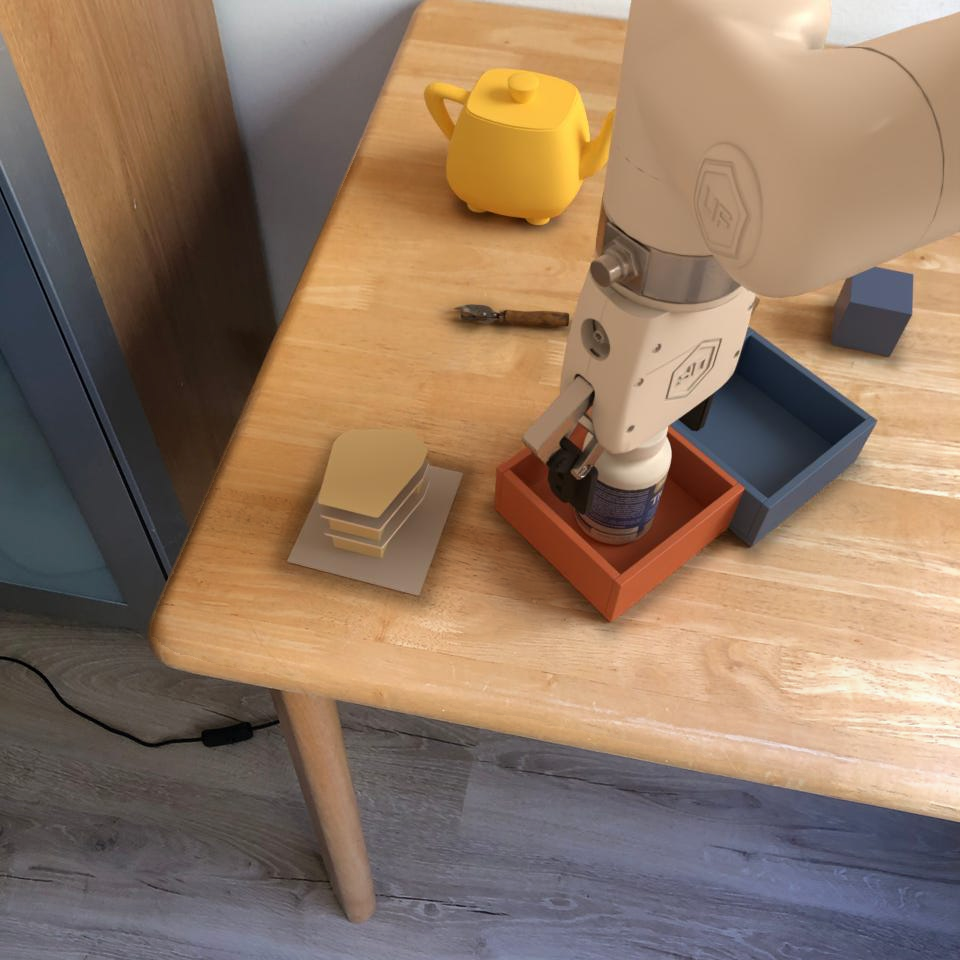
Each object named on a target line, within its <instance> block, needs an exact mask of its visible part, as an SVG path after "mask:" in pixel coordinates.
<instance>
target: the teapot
mask: <svg viewBox="0 0 960 960" xmlns="http://www.w3.org/2000/svg"><path fill="white" fill-rule="evenodd" d="M423 96H424V98H423V99H424V102H425V105H426V108H427V110H428V112H429V114H430V116H431V117H432V119H433V120H434V122H435V123H436V125H437V127H438V128H439V129H440V131H441V132H442V134H443V135H444V136H445V138H447V140H448V142H449V145H448V150H447V156H446V164H445V177H446V180H447V183H448V185H449V187H450V188H451V190H452V191H453V193H454V194H455V195H456V197H458V198H459V199H460V200H461V201H463V202H464V203H466V206H467V208H468V209H469V210H470V211H472V212H474V213H485V212H490V213H493V214H496V215H502V216H507V217H513V218H522V219H525V220H526V221H527V223H529V224H531V225H533V226H543V225H545V224H548V223H549V221H550V219H552V218H556V217H558V216H560V215H561V214H562V213H563V212H565V210H566V209H567V208H568V207H569V206H570V204H571V203H572V202H573V201H574V199H575V197H576V196H577V194H578V192H579V191H580V189H581V187H582V185H583V183H584V180H586V179H588V178H591V177H593V176H594V175H596V174H597V173H599V172H600V171H601V170H602V168H604V166H605V165H607V162H608V155H609V148H610V141H611V134H612V127H613V120H614V113H615V108H613V109H612V110H611V111H609V112H608V114H606V117H605V118H604V120H603V122H602V125H601V128H600V131H599V134H598V135H597V136H596V137H595V138H594V139H592V140H591V135H590V133H591V132H590V125H589V121H588V117H587V113H586V109H585V105H584V102H583V99H582V97H581V93H580V91H579V89H578V87H576V86H575V85H574V84H573V83H571V82H569V81H567V80H564V79H561V78H559V77H555V76H552V75H549V74H545V73H541V72H537V71H532V70H531V71H530V70H524V69H523V70H522V69H515V68H514V69H513V68H493V69H489V70H486V71H485V72H483V74H481V75H480V76H479V78H478V79H477V81H476V82H475V84H474V85H473V87H472V88H471V91H469V90H467V89H465V88H462V87H459V86H456V85H453V84H449V83H446V82H431V83H429V84H427V85H426V87H425V88H424V91H423ZM445 100H448V101H453V102H455V103H458V104H461V105H463V106H462V108H461V111H460V113H459V116H458V118H457V119H456V120H457V121H456V123H455V122H454V121H453V120H452V118H451V116H450V114H449V112H448V110H447V107H446V104H445Z"/></svg>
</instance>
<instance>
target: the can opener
mask: <svg viewBox="0 0 960 960" xmlns="http://www.w3.org/2000/svg"><path fill="white" fill-rule="evenodd" d="M453 310H460V319H461V320H462V321H465V322H466V321H471V320H475V319H485V320H477V323H479V324H481V325H490V324H492V323H494V321H495V320H498V322H500V323H504V324H514V325H515V324H517V325H519V324H521V325H523V324H524V325H530V326H531V325H532V326H539V327H551V328H552V327H553V328H559V327H560V328H562V327H569V325H570V313H569V312H562V311H554V310H552V311H551V310H527V311H526V310H514V309H505V310H499V312H496V311H495V310H493V308H492V307H490V306H488V305H486V304H485V305H484V304H476V303H475V304H472V303H471V304H470V303H469V304H463V305H460V306H457V307H455V308H453ZM463 313H467V314H470V315H463Z"/></svg>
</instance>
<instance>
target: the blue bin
mask: <svg viewBox="0 0 960 960" xmlns="http://www.w3.org/2000/svg"><path fill="white" fill-rule="evenodd" d="M877 423H878V419H877V418H875V417H874V416H872V415H871V414H870V413H868V412H867V411H866V410H864V409H863V408H862V407H860V406H858V405H857V404H856V403H855V402H853V401H852V400H850V399H849V398H848V397H846V396H845V395H844V394H842V393H841V392H840V391H838V390H837V389H835V388H834V387H833V386H831V385H830V384H829V383H827V382H826V381H825V380H823V379H822V378H821V377H819V376H817V375H816V374H815V373H814V372H812V371H811V370H809V369H808V368H807V367H805V366H804V365H802V364H801V363H800V362H799V361H797V360H796V359H794V358H793V357H791V356H790V355H789V354H787V353H786V352H785V351H783V350H782V349H781V348H779V347H778V346H776V345H775V344H774V343H772V342H771V341H770V340H768V339H767V338H766V337H764V336H762V335H761V334H760V333H758V332H757V331H755V330H754V329H753V328H752V327H750V326H748V328H747V332H746V336H745V339H744V343H743V346H742V350H741V353H740V356H739V359H738V362H737V365H736V368H735V370H734V372H733V374H732V376H731V377H730V378H729V379H728V381H727V382H726V383H725V384H724V385H723V386H722V387H720V388H719V389H718V390H717V391H716V392H715V395H714V398H713V401H712V404H711V407H710V410H709V413H708V416H707V419H706V422H705V425H704V427H703V428H701V429H700V430H699V431H692V430H690V429H689V428H688V427H687V426H685V425H684V424H683V423H682V422H680V421H679V420H678V419H677V420H676V421H675V422H673V423H672V424H670V425H669V426H672V428H674V429H675V430H676V431H678V432H679V433H680V434H681V436H684V437H685V438H686V439H687V440H688V441H689V442H690V443H692V445H694V446H696V447H697V448H698V450H701V451H702V453H703V454H705V455H706V456H708V458H709V459H711V460H712V461H713V462H714V463H715V464H718V465H719V467H721V468H722V469H723V470H724V471H725V472H727V474H730V476H732V478H735V480H736V481H737V483H740V484H741V485H742V486H743V487H745V489H744V492H743V494H742V496H741V499H740V501H739V504H738V506H737V508H736V511H735V513H734V515H733V518H732V520H731V523H730V525H729V527H728V529H729V531H731V532H732V534H734V535H735V536H737V537H738V538H739V539H740V540H741V541H743V543H745V545H747V546H748V547H749V548H753V547H754V546H756V545H757V544H758V543H760V541H761V540H763V539H764V538H765V537H766V536H768V534H770V533H771V532H773V530H774V529H776V528H777V527H778V526H779V525H780V524H782V523H783V522H784V521H786V519H788V518H789V517H791V516H792V515H793V514H794V513H795V512H796V511H798V510H799V509H800V508H801V507H802V506H803V505H805V504H806V503H807V502H808V501H810V500H811V499H812V498H813V497H815V495H817V494H818V493H819V492H820V491H821V490H823V489H824V488H825V487H826V486H828V485H829V484H830V483H832V481H834V480H835V479H836V478H837V477H839V476H840V475H841V474H842V473H843V472H844V471H846V470H847V469H848V468H850V467H851V466H852V465H853V464H854V463H855V462H856V461H857V460H858V457H859V455H860V454H861V452H862V451H863V449H864V446H865V445H866V443H867V441H868V439H869V438H870V436H871V434H872V433H873V431H874V429H875V428H876V425H877Z"/></svg>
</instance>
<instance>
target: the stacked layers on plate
mask: <svg viewBox="0 0 960 960" xmlns="http://www.w3.org/2000/svg"><path fill="white" fill-rule="evenodd" d="M428 452H429V448H428V446H427V445H426V444H425V442H423V440H422V439H421V438H420V437H419V435H418V434H417V433H416V431H414V430H411V429H384V428H383V429H382V428H378V429H377V428H355V429H349V430H347V431H345V432H343V433H342V434H341V435H339V436H338V437H337V438H336V439H335V440H334V442H333V443H332V447H331V450H330V455H329V457H328V461H327V466H326V469H325V473H324V476H323V479H322V484H321V487H320V489H319V491H318V493H317V495H316V497H315V499H314V502H313V503H312V506H311V508H310V509H309V510H310V511H309V512H308V514H307V517H306V519H305V521H304V523H303V525H302V528H301V530H300V532H299V534H298V535H297V538H296V541H295V543H294V545H293V547H292V549H291V552H290V554H289V556H288V558H287V560H286V562H287V563H291V564H294V565H298V566H302V567H305V568H309V569H312V570H318V571H321V572H325V573H330V574H333V575H336V576H341V577H343V578H349V579H353V580H357V581H360V582H363V583H368V584H371V585H375V586H379V587H382V588H386V589H391V590H394V591H397V592H402V593H406V594H409V595H413V596H417V597H419V596H420V595H421V592H422V589H423V586H424V584H425V581H426V578H427V575H428V572H429V570H430V566H431V564H432V561H433V558H434V556H435V553H436V550H437V547H438V544H439V542H440V539H441V536H442V533H443V531H444V528H445V525H446V522H447V520H448V518H449V514H450V512H451V509H452V507H453V504H454V500H455V498H456V496H457V492H458V490H459V487H460V484H461V481H462V480H463V479H462V478H463V476H464V472H461V471H456V470H452V469H448V468H443V467H439V466H434V465H432V464H431V465H430V460H429V459H428V458H427V454H428Z"/></svg>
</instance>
